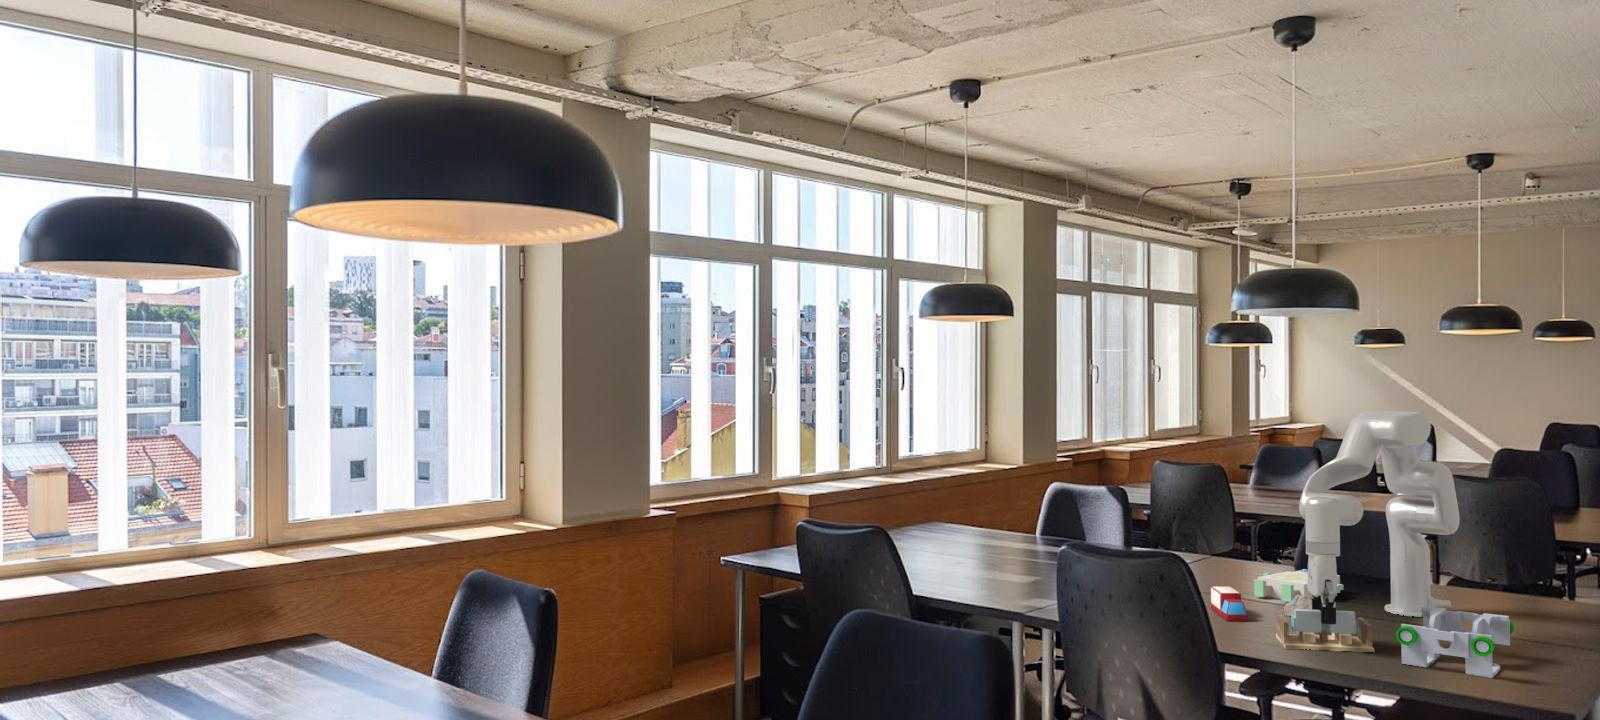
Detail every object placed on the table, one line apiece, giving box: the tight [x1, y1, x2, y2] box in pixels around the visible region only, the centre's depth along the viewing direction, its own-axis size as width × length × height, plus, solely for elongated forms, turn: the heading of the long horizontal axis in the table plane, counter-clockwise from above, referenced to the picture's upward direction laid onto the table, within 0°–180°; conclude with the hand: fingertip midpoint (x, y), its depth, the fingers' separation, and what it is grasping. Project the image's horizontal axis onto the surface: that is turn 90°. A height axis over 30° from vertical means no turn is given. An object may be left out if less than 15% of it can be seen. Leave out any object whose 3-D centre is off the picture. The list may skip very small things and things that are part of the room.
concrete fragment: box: [1283, 595, 1338, 617], centre depth 294 cm, size 7×14×6 cm, turn 23°
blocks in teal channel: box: [1290, 609, 1358, 635], centre depth 266 cm, size 14×4×5 cm, turn 77°
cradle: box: [1275, 614, 1375, 653], centre depth 266 cm, size 19×12×6 cm, turn 77°
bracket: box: [1395, 606, 1515, 679], centre depth 250 cm, size 19×25×10 cm
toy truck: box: [1210, 586, 1249, 623], centre depth 299 cm, size 6×15×7 cm, turn 175°
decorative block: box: [1253, 568, 1345, 603], centre depth 324 cm, size 26×6×20 cm
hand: (1323, 619), depth 266 cm, fingers open, 9 cm apart
